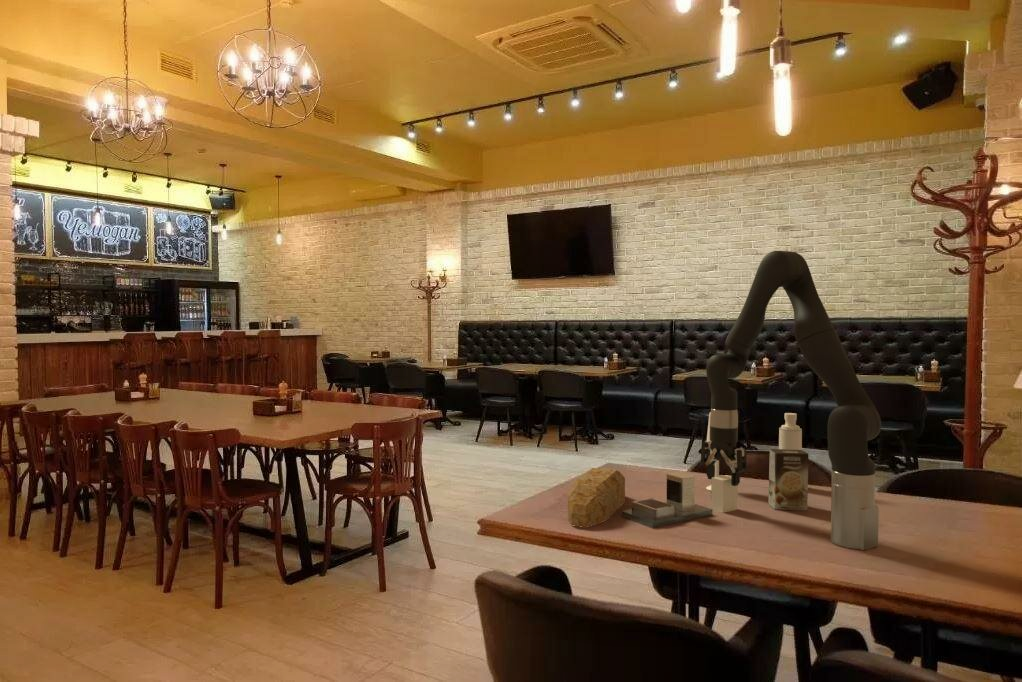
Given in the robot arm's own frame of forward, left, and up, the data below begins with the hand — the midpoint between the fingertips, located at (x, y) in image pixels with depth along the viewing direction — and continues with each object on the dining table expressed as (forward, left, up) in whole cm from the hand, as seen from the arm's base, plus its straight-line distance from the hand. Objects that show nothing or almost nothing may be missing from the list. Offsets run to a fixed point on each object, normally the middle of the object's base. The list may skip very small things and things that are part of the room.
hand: (722, 482), depth 190 cm
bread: (+19, +30, -8) cm, 36 cm away
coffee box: (-9, -17, -8) cm, 21 cm away
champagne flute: (+16, -16, -8) cm, 24 cm away
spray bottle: (+6, -37, -8) cm, 39 cm away
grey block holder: (+3, +18, -8) cm, 20 cm away
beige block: (-1, 0, -8) cm, 8 cm away
